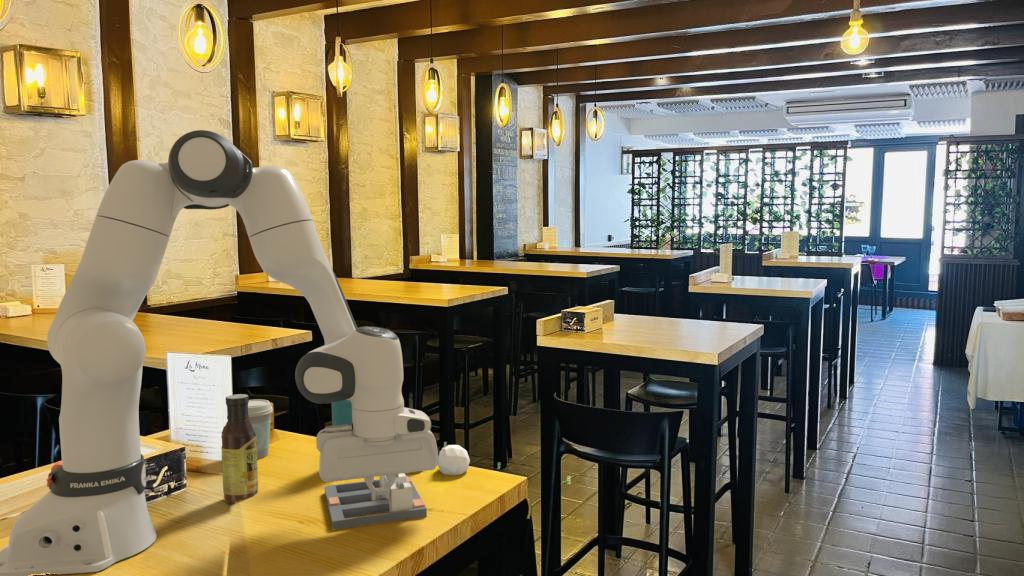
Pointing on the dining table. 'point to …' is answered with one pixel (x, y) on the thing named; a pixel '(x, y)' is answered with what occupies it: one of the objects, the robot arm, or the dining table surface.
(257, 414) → the coffee cup
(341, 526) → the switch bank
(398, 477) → the tab
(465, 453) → the ornament
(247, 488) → the sauce bottle
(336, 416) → the beverage bottle
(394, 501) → the tab
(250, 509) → the dining table surface
